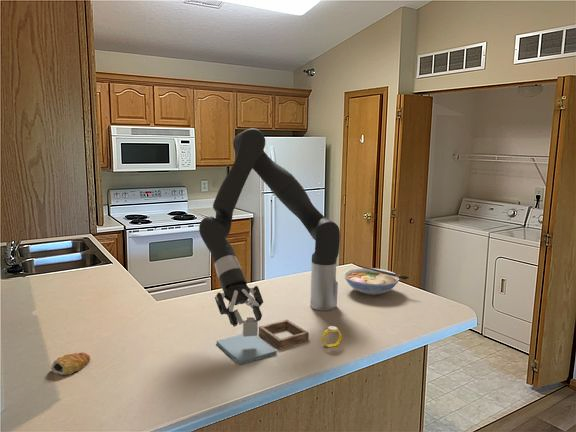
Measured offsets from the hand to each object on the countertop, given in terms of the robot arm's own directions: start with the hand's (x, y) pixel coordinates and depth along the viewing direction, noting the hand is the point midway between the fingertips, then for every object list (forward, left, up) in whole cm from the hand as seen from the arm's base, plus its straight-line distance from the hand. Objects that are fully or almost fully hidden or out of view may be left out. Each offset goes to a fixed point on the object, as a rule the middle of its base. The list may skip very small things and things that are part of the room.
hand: (247, 322), depth 127 cm
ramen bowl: (-68, -18, -9) cm, 71 cm away
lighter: (0, -2, -5) cm, 5 cm away
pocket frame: (-14, -2, -9) cm, 17 cm away
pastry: (+45, -17, -9) cm, 49 cm away
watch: (-23, +11, -9) cm, 27 cm away
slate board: (0, -1, -9) cm, 9 cm away
